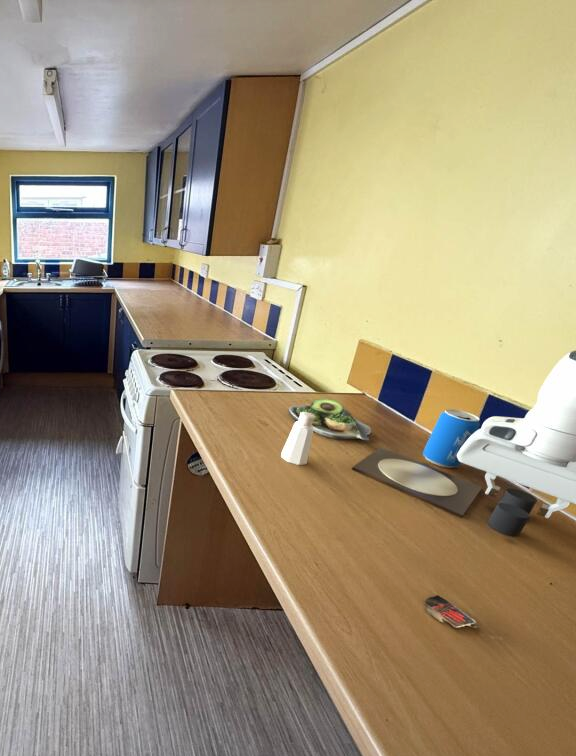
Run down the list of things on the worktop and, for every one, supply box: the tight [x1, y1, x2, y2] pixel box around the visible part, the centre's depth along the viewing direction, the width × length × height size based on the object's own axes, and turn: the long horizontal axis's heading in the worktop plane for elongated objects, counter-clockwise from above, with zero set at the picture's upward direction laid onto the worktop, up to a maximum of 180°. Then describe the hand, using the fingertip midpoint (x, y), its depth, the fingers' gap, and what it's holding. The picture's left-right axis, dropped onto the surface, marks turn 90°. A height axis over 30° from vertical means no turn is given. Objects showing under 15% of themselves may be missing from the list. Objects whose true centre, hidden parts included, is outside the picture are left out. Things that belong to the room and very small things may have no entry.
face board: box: [351, 447, 483, 518], centre depth 84 cm, size 18×16×1 cm
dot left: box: [498, 487, 538, 515], centre depth 75 cm, size 4×4×4 cm
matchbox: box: [423, 594, 480, 629], centre depth 54 cm, size 5×5×1 cm
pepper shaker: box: [280, 412, 315, 466], centre depth 87 cm, size 5×5×11 cm
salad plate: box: [288, 398, 372, 442], centre depth 104 cm, size 19×18×5 cm
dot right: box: [487, 502, 531, 537], centre depth 70 cm, size 4×4×4 cm
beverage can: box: [422, 408, 481, 469], centre depth 89 cm, size 6×6×12 cm
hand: (515, 504), depth 75 cm, fingers open, 5 cm apart
